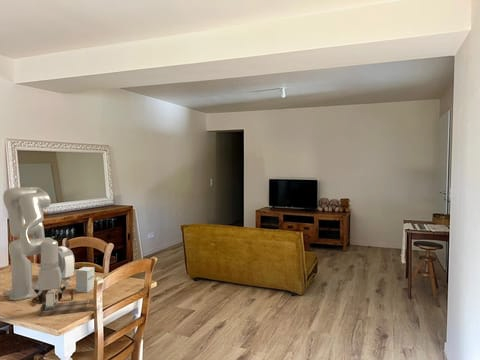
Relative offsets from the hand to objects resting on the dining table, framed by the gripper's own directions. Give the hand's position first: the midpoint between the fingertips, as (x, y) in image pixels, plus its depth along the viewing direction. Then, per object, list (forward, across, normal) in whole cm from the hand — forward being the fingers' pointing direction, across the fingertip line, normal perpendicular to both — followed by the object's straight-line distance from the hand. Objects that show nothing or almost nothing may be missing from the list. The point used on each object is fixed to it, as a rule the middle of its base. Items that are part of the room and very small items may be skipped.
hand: (50, 300), depth 172 cm
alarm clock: (+6, -4, +55) cm, 55 cm away
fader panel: (+5, +9, 0) cm, 10 cm away
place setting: (+6, -3, +15) cm, 17 cm away
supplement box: (+6, +13, +27) cm, 30 cm away
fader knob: (+3, 0, 0) cm, 3 cm away
